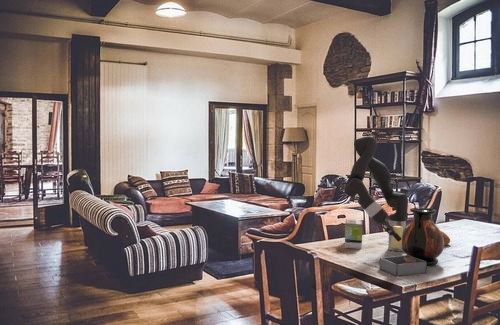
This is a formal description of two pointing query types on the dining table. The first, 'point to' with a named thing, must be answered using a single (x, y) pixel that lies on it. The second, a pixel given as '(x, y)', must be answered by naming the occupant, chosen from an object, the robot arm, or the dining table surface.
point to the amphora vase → (423, 237)
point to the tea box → (353, 234)
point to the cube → (409, 260)
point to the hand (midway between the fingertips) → (400, 239)
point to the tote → (402, 266)
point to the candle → (393, 241)
